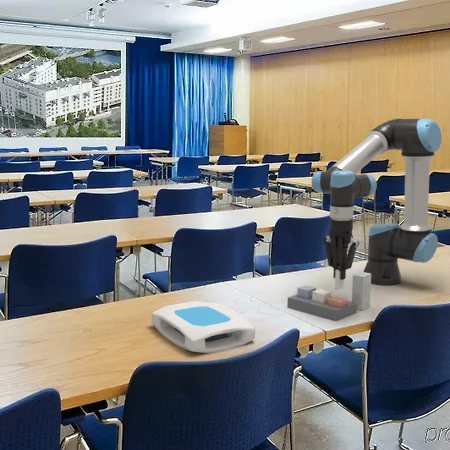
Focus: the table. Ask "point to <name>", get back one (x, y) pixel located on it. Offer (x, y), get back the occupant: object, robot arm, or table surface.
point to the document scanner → (202, 326)
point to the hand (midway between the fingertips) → (339, 288)
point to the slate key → (305, 292)
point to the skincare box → (361, 290)
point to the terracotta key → (337, 301)
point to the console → (321, 308)
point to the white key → (321, 295)
